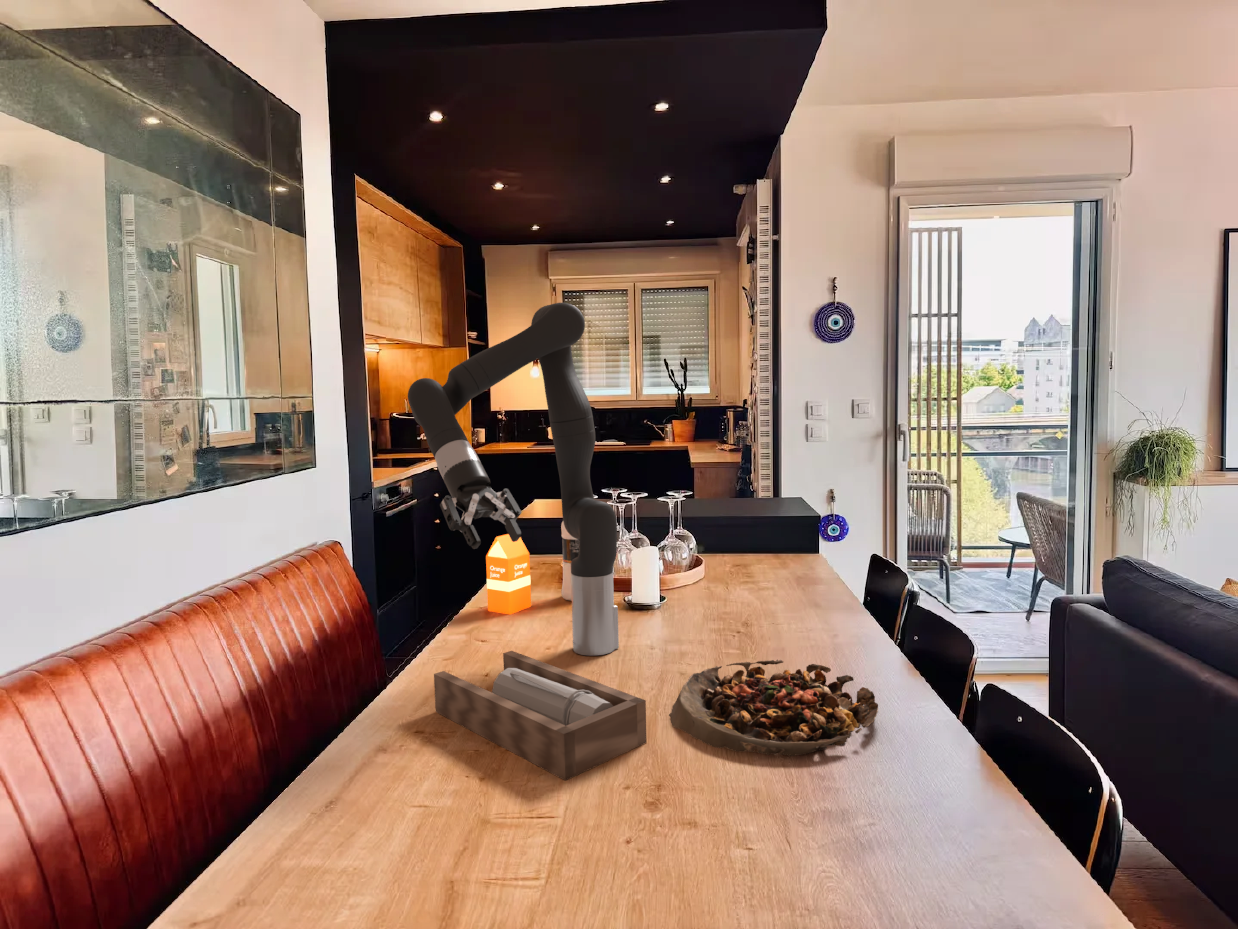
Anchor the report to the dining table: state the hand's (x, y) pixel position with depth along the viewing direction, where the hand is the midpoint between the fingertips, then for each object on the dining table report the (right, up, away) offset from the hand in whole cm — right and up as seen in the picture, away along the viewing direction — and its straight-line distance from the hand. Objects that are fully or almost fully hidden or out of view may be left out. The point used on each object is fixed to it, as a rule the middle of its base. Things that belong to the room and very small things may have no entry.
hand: (497, 542), depth 137 cm
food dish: (+48, -30, -3) cm, 56 cm away
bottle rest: (+7, -31, -5) cm, 32 cm away
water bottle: (0, -26, +3) cm, 26 cm away
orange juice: (-7, -25, +69) cm, 73 cm away
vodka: (+10, -23, +78) cm, 82 cm away
